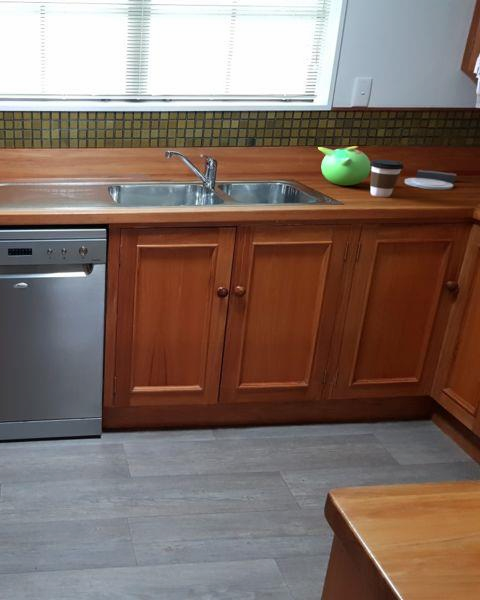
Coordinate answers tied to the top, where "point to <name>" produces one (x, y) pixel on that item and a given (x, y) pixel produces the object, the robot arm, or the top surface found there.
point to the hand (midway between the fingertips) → (477, 106)
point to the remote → (436, 175)
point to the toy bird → (345, 165)
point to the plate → (428, 183)
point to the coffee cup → (384, 176)
